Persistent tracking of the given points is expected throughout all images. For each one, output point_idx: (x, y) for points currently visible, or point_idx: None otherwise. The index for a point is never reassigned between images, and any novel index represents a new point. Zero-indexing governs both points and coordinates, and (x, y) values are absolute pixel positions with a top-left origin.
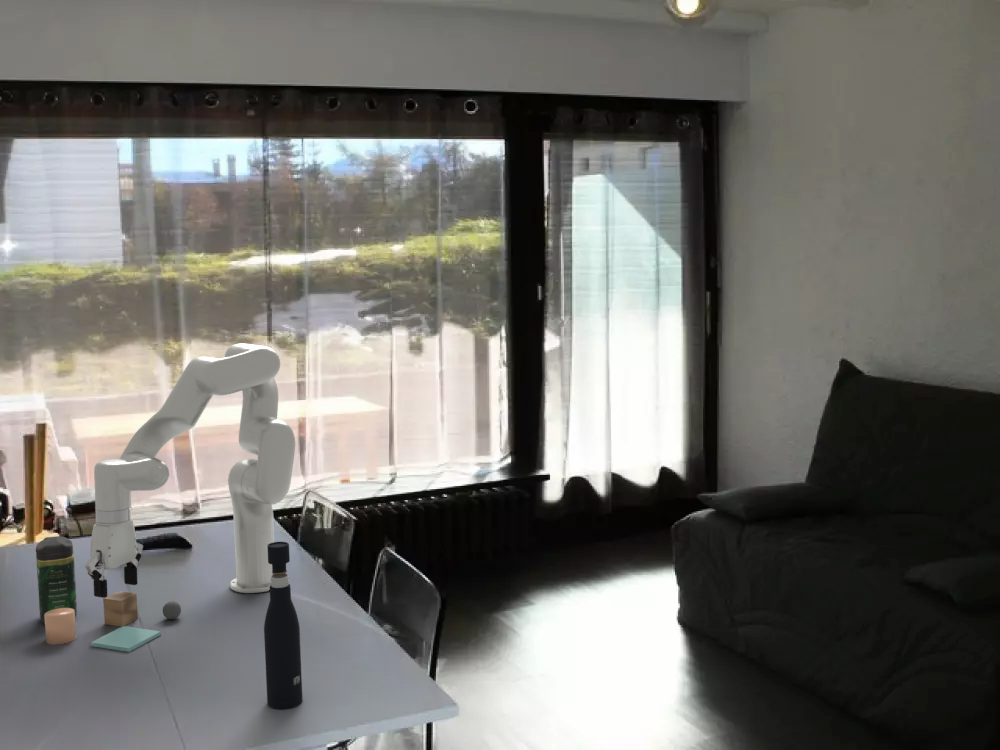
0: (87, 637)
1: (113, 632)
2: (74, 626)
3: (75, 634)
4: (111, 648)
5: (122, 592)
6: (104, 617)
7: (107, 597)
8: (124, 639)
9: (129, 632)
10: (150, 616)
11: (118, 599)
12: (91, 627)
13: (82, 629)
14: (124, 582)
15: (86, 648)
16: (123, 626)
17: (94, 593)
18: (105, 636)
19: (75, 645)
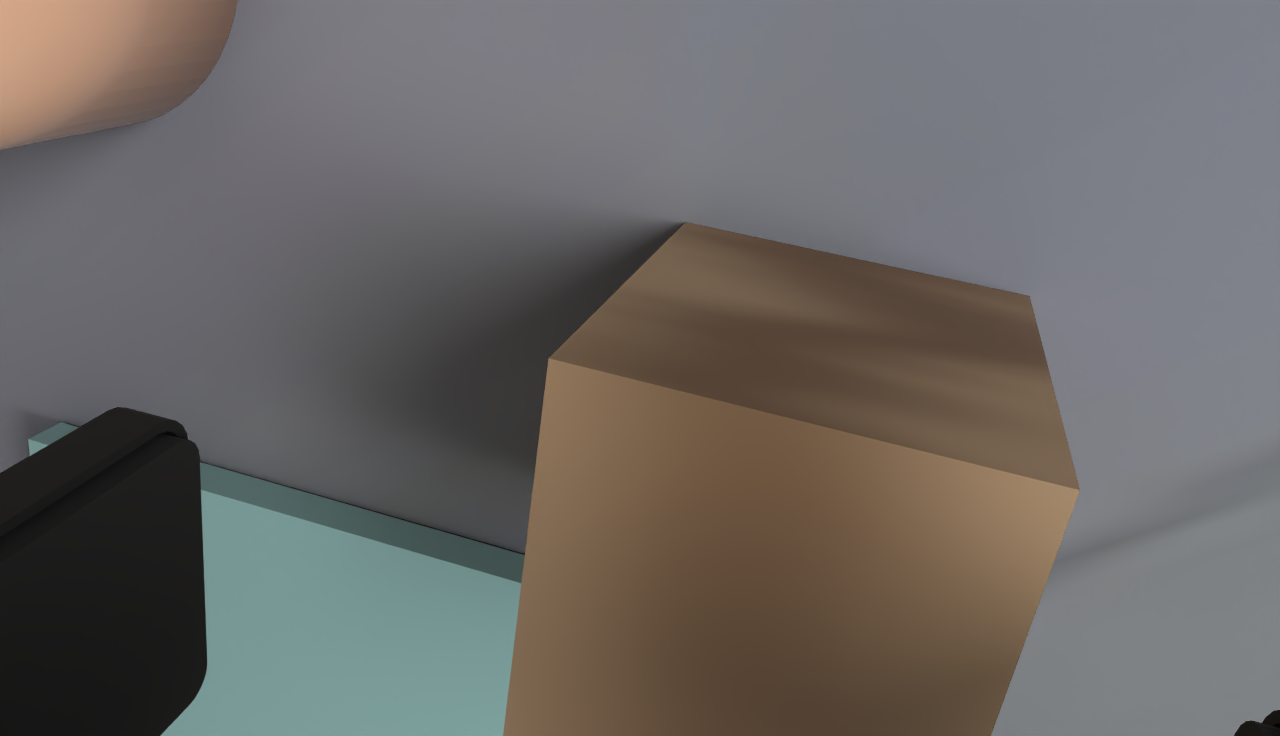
0: (227, 248)
1: (320, 555)
2: (6, 148)
3: (115, 126)
4: None
5: (989, 611)
6: (659, 249)
7: (619, 426)
8: (204, 731)
9: (371, 717)
10: (1048, 712)
11: (557, 681)
12: (523, 99)
13: (428, 8)
14: (1261, 725)
15: (5, 402)
16: (511, 592)
17: (83, 439)
18: (203, 517)
19: (12, 240)
